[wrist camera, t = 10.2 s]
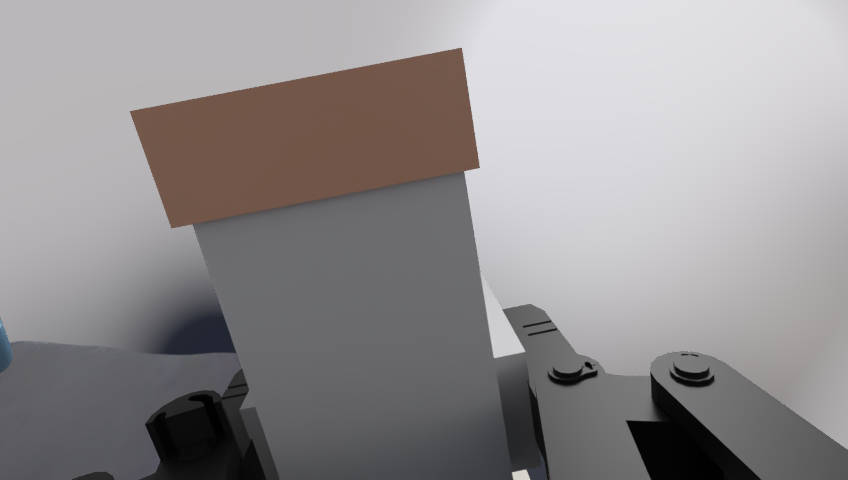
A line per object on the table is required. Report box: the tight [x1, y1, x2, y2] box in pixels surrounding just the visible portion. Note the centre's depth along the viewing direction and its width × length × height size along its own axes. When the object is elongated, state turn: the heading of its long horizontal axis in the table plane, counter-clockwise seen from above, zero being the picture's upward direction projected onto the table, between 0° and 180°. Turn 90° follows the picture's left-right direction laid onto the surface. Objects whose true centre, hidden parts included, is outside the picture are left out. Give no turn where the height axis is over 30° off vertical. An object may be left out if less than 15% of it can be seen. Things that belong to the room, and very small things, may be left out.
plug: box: [130, 48, 513, 480], centre depth 10 cm, size 4×4×16 cm
